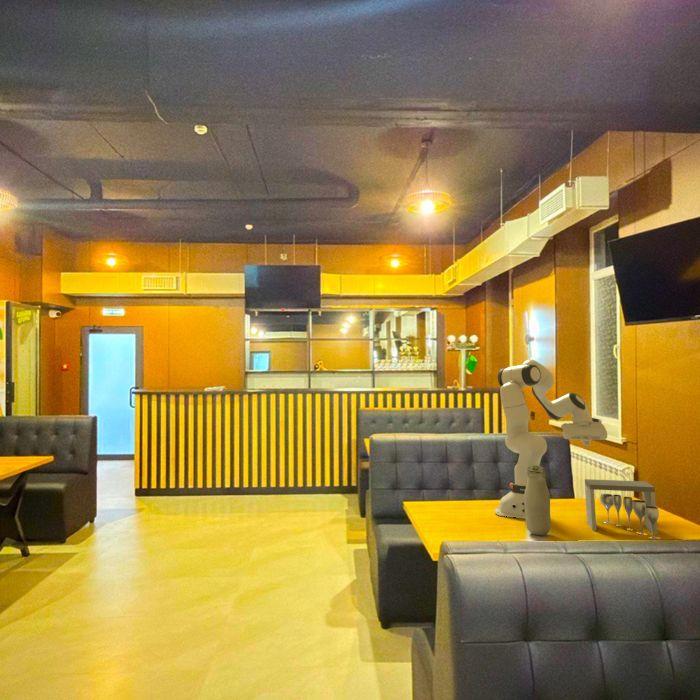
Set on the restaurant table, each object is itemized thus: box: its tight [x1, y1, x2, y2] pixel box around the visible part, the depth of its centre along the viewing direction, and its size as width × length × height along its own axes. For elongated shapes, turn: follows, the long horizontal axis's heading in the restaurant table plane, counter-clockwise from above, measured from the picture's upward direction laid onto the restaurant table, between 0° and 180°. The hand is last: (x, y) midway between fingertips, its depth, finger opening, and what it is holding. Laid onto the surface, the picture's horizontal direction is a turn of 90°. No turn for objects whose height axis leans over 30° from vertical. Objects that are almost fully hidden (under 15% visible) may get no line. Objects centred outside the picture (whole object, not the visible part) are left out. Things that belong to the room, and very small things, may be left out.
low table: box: [584, 478, 659, 535], centre depth 199 cm, size 24×12×19 cm, turn 73°
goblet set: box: [599, 493, 661, 540], centre depth 197 cm, size 28×6×13 cm, turn 15°
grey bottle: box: [524, 465, 552, 536], centre depth 193 cm, size 10×10×28 cm
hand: (587, 444), depth 232 cm, fingers closed
